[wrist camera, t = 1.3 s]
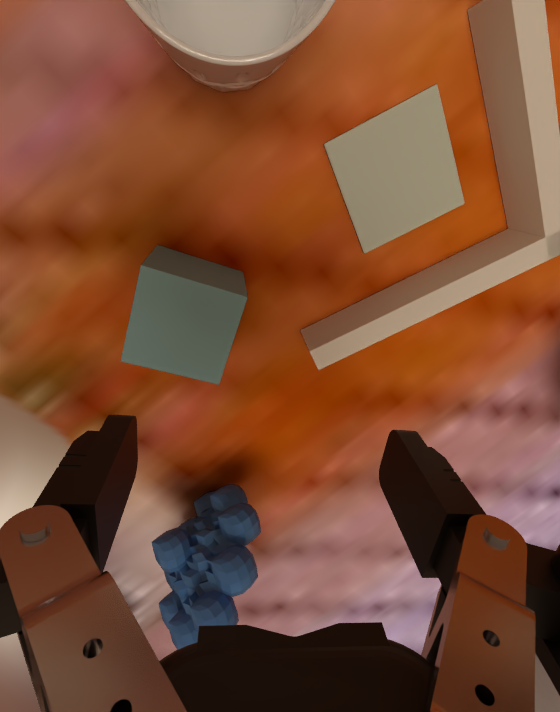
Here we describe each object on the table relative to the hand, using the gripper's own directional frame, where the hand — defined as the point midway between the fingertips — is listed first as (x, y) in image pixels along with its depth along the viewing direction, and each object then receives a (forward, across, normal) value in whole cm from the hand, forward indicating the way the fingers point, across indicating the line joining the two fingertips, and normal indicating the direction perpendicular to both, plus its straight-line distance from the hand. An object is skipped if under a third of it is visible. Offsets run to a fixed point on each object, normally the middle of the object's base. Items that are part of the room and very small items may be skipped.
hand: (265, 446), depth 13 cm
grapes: (+16, +3, +17) cm, 24 cm away
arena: (+16, -8, -7) cm, 19 cm away
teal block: (+16, +4, 0) cm, 16 cm away
